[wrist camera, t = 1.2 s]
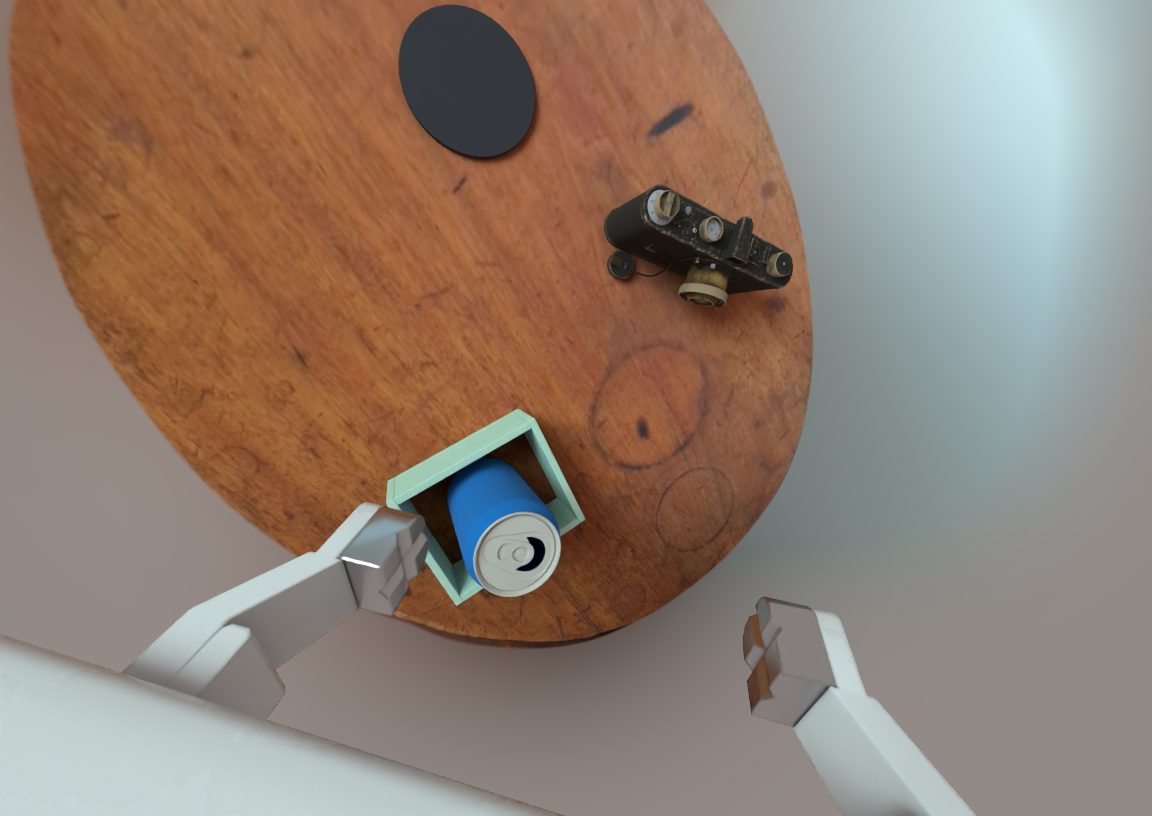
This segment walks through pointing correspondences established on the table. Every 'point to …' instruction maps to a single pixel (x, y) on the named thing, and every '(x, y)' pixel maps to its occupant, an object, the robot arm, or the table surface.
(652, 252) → the camera
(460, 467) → the box frame
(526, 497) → the beverage can
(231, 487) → the table surface
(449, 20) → the coaster
